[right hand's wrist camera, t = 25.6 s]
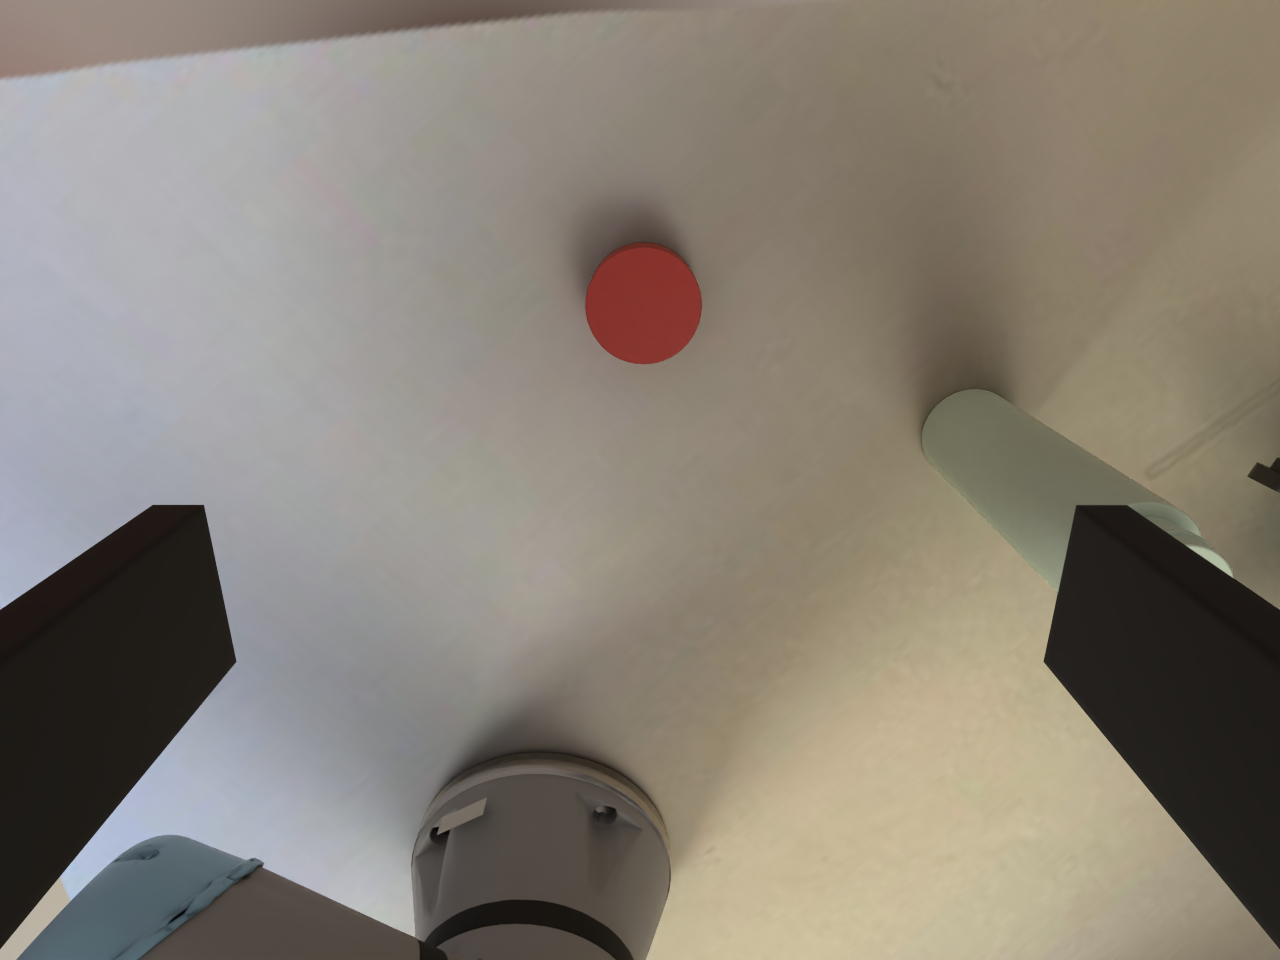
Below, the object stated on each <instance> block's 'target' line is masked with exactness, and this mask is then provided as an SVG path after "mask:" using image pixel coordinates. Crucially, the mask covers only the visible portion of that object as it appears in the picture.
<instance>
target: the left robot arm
mask: <svg viewBox="0 0 1280 960" xmlns="http://www.w3.org/2000/svg"><path fill="white" fill-rule="evenodd" d="M1248 477H1249V478H1251V479H1253V480H1255V481H1257V482H1259V483H1261V484H1263V485H1265V486H1267V487H1269V488H1271V489H1273V490H1275V491H1277V492H1279V493H1280V458H1277V459H1276V460H1275V462H1274V463H1273V465H1272V466H1271V467H1267V466H1265V465H1263V464H1260V463H1256V464H1255V466H1254V467H1253V469H1252V470H1251V472H1250V473H1249V474H1248Z"/></svg>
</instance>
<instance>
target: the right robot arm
mask: <svg viewBox="0 0 1280 960" xmlns="http://www.w3.org/2000/svg"><path fill="white" fill-rule="evenodd" d="M235 663H236V658H235V653H234V648H233V643H232V638H231V634H230V629H229V624H228V619H227V614H226V610H225V605H224V600H223V595H222V590H221V585H220V581H219V576H218V571H217V566H216V561H215V557H214V552H213V547H212V542H211V537H210V532H209V528H208V523H207V518H206V513H205V508H204V505H152V506H151V507H149V508H148V509H146V510H145V511H144V512H142V513H141V514H139V515H138V516H136V517H135V518H133V519H132V520H130V521H129V522H128V523H126V524H125V525H123V526H122V527H120V528H119V529H117V530H116V531H114V532H113V533H112V534H110V535H109V536H107V537H106V538H104V539H103V540H101V541H100V542H98V543H97V544H96V545H94V546H93V547H91V548H90V549H88V550H87V551H85V552H84V553H82V554H81V555H80V556H78V557H77V558H75V559H74V560H72V561H71V562H69V563H68V564H66V565H65V566H64V567H62V568H61V569H59V570H58V571H56V572H55V573H53V574H52V575H50V576H49V577H48V578H46V579H45V580H43V581H42V582H40V583H39V584H37V585H36V586H34V587H33V588H32V589H30V590H29V591H27V592H26V593H24V594H23V595H21V596H20V597H18V598H17V599H16V600H14V601H13V602H11V603H10V604H8V605H7V606H5V607H4V608H2V609H1V610H0V949H1V947H2V946H3V945H4V944H5V943H6V941H7V940H8V939H9V938H10V936H11V935H12V934H13V933H14V932H15V930H16V929H17V928H18V927H19V926H20V924H21V923H22V922H23V921H24V920H25V918H26V917H27V916H28V915H29V913H30V912H31V911H32V910H33V909H34V907H35V906H36V905H37V904H38V902H39V901H40V900H41V899H42V898H43V896H44V895H45V894H46V893H47V891H48V890H49V889H50V888H51V887H52V885H53V884H54V883H55V882H56V881H57V879H58V878H59V877H60V876H61V874H62V873H63V872H64V871H65V870H66V868H67V867H68V866H69V865H70V864H71V862H72V861H73V860H74V859H75V857H76V856H77V855H78V854H79V853H80V851H81V850H82V849H83V848H84V846H85V845H86V844H87V843H88V842H89V840H90V839H91V838H92V837H93V836H94V834H95V833H96V832H97V831H98V829H99V828H100V827H101V826H102V825H103V823H104V822H105V821H106V820H107V818H108V817H109V816H110V815H111V814H112V812H113V811H114V810H115V809H116V808H117V806H118V805H119V804H120V803H121V801H122V800H123V799H124V798H125V797H126V795H127V794H128V793H129V792H130V790H131V789H132V788H133V787H134V786H135V784H136V783H137V782H138V781H139V779H140V778H141V777H142V776H143V775H144V773H145V772H146V771H147V770H148V769H149V767H150V766H151V765H152V764H153V762H154V761H155V760H156V759H157V758H158V756H159V755H160V754H161V753H162V751H163V750H164V749H165V748H166V747H167V745H168V744H169V743H170V742H171V741H172V739H173V738H174V737H175V736H176V734H177V733H178V732H179V731H180V730H181V728H182V727H183V726H184V725H185V723H186V722H187V721H188V720H189V719H190V717H191V716H192V715H193V714H194V713H195V711H196V710H197V709H198V708H199V706H200V705H201V704H202V703H203V702H204V700H205V699H206V698H207V697H208V695H209V694H210V693H211V692H212V691H213V689H214V688H215V687H216V686H217V685H218V683H219V682H220V681H221V680H222V678H223V677H224V676H225V675H226V674H227V672H228V671H229V670H230V669H231V667H232V666H233V665H234V664H235ZM1044 663H1045V664H1046V665H1047V666H1048V667H1049V669H1050V670H1051V671H1052V672H1053V674H1054V675H1055V676H1056V677H1057V678H1058V680H1059V681H1060V682H1061V683H1062V685H1063V686H1064V687H1065V688H1066V689H1067V691H1068V692H1069V693H1070V694H1071V695H1072V697H1073V698H1074V699H1075V700H1076V702H1077V703H1078V704H1079V705H1080V706H1081V708H1082V709H1083V710H1084V711H1085V713H1086V714H1087V715H1088V716H1089V717H1090V719H1091V720H1092V721H1093V722H1094V723H1095V725H1096V726H1097V727H1098V728H1099V730H1100V731H1101V732H1102V733H1103V734H1104V736H1105V737H1106V738H1107V739H1108V741H1109V742H1110V743H1111V744H1112V745H1113V747H1114V748H1115V749H1116V750H1117V751H1118V753H1119V754H1120V755H1121V756H1122V758H1123V759H1124V760H1125V761H1126V762H1127V764H1128V765H1129V766H1130V767H1131V769H1132V770H1133V771H1134V772H1135V773H1136V775H1137V776H1138V777H1139V778H1140V780H1141V781H1142V782H1143V783H1144V784H1145V786H1146V787H1147V788H1148V789H1149V790H1150V792H1151V793H1152V794H1153V795H1154V797H1155V798H1156V799H1157V800H1158V801H1159V803H1160V804H1161V805H1162V806H1163V808H1164V809H1165V810H1166V811H1167V812H1168V814H1169V815H1170V816H1171V817H1172V818H1173V820H1174V821H1175V822H1176V823H1177V825H1178V826H1179V827H1180V828H1181V829H1182V831H1183V832H1184V833H1185V834H1186V836H1187V837H1188V838H1189V839H1190V840H1191V842H1192V843H1193V844H1194V845H1195V846H1196V848H1197V849H1198V850H1199V851H1200V853H1201V854H1202V855H1203V856H1204V857H1205V859H1206V860H1207V861H1208V862H1209V864H1210V865H1211V866H1212V867H1213V868H1214V870H1215V871H1216V872H1217V873H1218V874H1219V876H1220V877H1221V878H1222V879H1223V881H1224V882H1225V883H1226V884H1227V885H1228V887H1229V888H1230V889H1231V890H1232V892H1233V893H1234V894H1235V895H1236V896H1237V898H1238V899H1239V900H1240V901H1241V902H1242V904H1243V905H1244V906H1245V907H1246V909H1247V910H1248V911H1249V912H1250V913H1251V915H1252V916H1253V917H1254V918H1255V920H1256V921H1257V922H1258V923H1259V924H1260V926H1261V927H1262V928H1263V929H1264V930H1265V932H1266V933H1267V934H1268V935H1269V937H1270V938H1271V939H1272V940H1273V941H1274V943H1275V944H1276V945H1277V946H1278V948H1279V949H1280V610H1279V609H1278V608H1276V607H1275V606H1273V605H1272V604H1270V603H1269V602H1267V601H1266V600H1264V599H1263V598H1262V597H1260V596H1259V595H1257V594H1256V593H1254V592H1253V591H1251V590H1250V589H1248V588H1247V587H1246V586H1244V585H1243V584H1241V583H1240V582H1238V581H1237V580H1235V579H1234V578H1232V577H1231V576H1230V575H1228V574H1227V573H1225V572H1224V571H1222V570H1221V569H1219V568H1218V567H1216V566H1215V565H1214V564H1212V563H1211V562H1209V561H1208V560H1206V559H1205V558H1203V557H1202V556H1200V555H1199V554H1198V553H1196V552H1195V551H1193V550H1192V549H1190V548H1189V547H1187V546H1186V545H1184V544H1183V543H1182V542H1180V541H1179V540H1177V539H1176V538H1174V537H1173V536H1171V535H1170V534H1168V533H1167V532H1166V531H1164V530H1163V529H1161V528H1160V527H1158V526H1157V525H1155V524H1154V523H1152V522H1151V521H1150V520H1148V519H1147V518H1145V517H1144V516H1142V515H1141V514H1139V513H1138V512H1136V511H1135V510H1134V509H1132V508H1131V507H1129V506H1128V505H1076V508H1075V513H1074V518H1073V523H1072V528H1071V532H1070V537H1069V542H1068V547H1067V552H1066V557H1065V561H1064V566H1063V571H1062V576H1061V581H1060V585H1059V590H1058V595H1057V600H1056V605H1055V610H1054V614H1053V619H1052V624H1051V629H1050V634H1049V638H1048V643H1047V648H1046V653H1045V658H1044ZM263 865H264V863H263V862H262V861H260V860H259V859H256V858H251V859H249V860H244V859H241V858H239V857H236V856H233V855H231V854H228V853H226V852H223V851H220V850H218V849H215V848H213V847H210V846H208V845H205V844H203V843H200V842H198V841H195V840H192V839H190V838H187V837H183V836H178V835H163V836H157V837H154V838H150V839H148V840H145V841H143V842H141V843H138V844H136V845H135V846H133V847H131V848H130V849H128V850H127V851H125V852H124V853H122V854H121V855H120V856H118V857H117V858H116V859H115V860H114V861H112V862H111V863H110V864H109V865H108V866H107V867H105V868H104V869H103V870H102V871H101V872H100V873H99V874H98V875H97V876H96V877H95V878H94V879H93V880H92V881H91V882H90V883H89V884H88V885H87V886H86V887H85V888H84V889H83V890H82V891H81V892H80V893H78V894H77V895H76V896H75V897H74V898H73V899H72V900H71V901H70V903H69V904H68V905H67V906H66V907H65V908H64V909H63V910H62V911H61V912H60V913H59V914H58V915H57V916H56V917H55V918H54V919H53V921H52V922H51V923H50V924H49V925H48V926H47V927H46V928H45V929H44V930H43V931H42V932H41V933H40V934H39V935H38V937H37V938H36V939H35V940H34V941H33V942H32V943H31V944H30V945H29V946H28V947H27V949H26V950H25V951H24V952H23V953H22V954H21V955H20V956H19V958H18V959H17V960H646V958H647V955H648V952H649V949H650V946H651V943H652V941H653V938H654V935H655V932H656V929H657V926H658V923H659V921H660V918H661V915H662V912H663V909H664V906H665V903H666V900H667V897H668V893H669V888H670V881H671V870H670V848H669V840H668V836H667V832H666V828H665V826H664V823H663V821H662V819H661V817H660V815H659V813H658V811H657V810H656V808H655V807H654V805H653V804H652V802H651V801H650V800H649V799H648V798H647V797H646V795H645V794H644V793H643V792H642V791H641V790H639V789H638V788H637V787H636V786H635V785H634V784H633V783H631V782H630V781H629V780H627V779H626V778H624V777H623V776H621V775H620V774H618V773H617V772H615V771H613V770H611V769H609V768H607V767H605V766H602V765H600V764H598V763H595V762H592V761H589V760H586V759H583V758H579V757H575V756H570V755H564V754H557V753H544V752H543V753H521V754H514V755H508V756H503V757H500V758H496V759H492V760H490V761H487V762H484V763H481V764H479V765H477V766H475V767H473V768H471V769H469V770H467V771H465V772H464V773H462V774H460V775H459V776H458V777H456V778H455V779H454V780H452V781H451V782H450V783H449V784H448V785H447V786H445V787H444V788H443V789H442V790H441V792H440V793H439V794H438V795H437V796H436V797H435V799H434V800H433V802H432V803H431V805H430V806H429V808H428V810H427V812H426V814H425V817H424V819H423V822H422V825H421V828H420V831H419V834H418V837H417V840H416V843H415V846H414V850H413V854H412V863H411V867H412V888H413V903H414V918H415V933H416V938H415V937H413V936H411V935H408V934H406V933H404V932H401V931H399V930H397V929H394V928H392V927H390V926H388V925H386V924H384V923H381V922H379V921H377V920H375V919H373V918H371V917H368V916H366V915H364V914H362V913H360V912H358V911H355V910H353V909H351V908H349V907H347V906H344V905H342V904H340V903H338V902H336V901H334V900H331V899H329V898H327V897H325V896H323V895H321V894H318V893H316V892H314V891H312V890H310V889H308V888H305V887H303V886H301V885H299V884H297V883H295V882H292V881H290V880H288V879H286V878H284V877H282V876H279V875H277V874H275V873H273V872H271V871H269V870H266V869H264V868H262V867H263Z"/></svg>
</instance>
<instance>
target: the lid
mask: <svg viewBox="0 0 1280 960" xmlns="http://www.w3.org/2000/svg"><path fill="white" fill-rule="evenodd" d="M701 309H702V303H701V294H700V290H699V286H698V284H697V281H696V279H695V277H694V275H693V273H692V271H691V270H690V268H689V266H688V265H687V264H686V262H685V261H684V260H683V259H682V258H681V257H680V256H679V255H678V254H676V253H675V252H673V251H672V250H670V249H668V248H666V247H664V246H661V245H659V244H654V243H646V242H641V243H633V244H629V245H626V246H623V247H621V248H619V249H617V250H615V251H614V252H612V253H611V254H609V255H608V256H607V257H606V258H605V259H604V260H603V261H602V262H601V263H600V265H599V266H598V268H597V269H596V271H595V273H594V275H593V277H592V280H591V282H590V284H589V287H588V290H587V296H586V316H587V321H588V324H589V327H590V329H591V331H592V333H593V335H594V337H595V338H596V340H597V341H598V342H599V344H600V345H601V346H602V347H603V348H604V349H605V350H606V351H608V352H609V353H610V354H612V355H613V356H615V357H617V358H619V359H621V360H624V361H627V362H630V363H635V364H652V363H657V362H660V361H663V360H666V359H668V358H670V357H672V356H674V355H675V354H677V353H678V352H679V351H681V350H682V349H683V348H684V347H685V346H686V345H687V344H688V343H689V341H690V340H691V338H692V337H693V335H694V333H695V332H696V329H697V327H698V324H699V321H700V317H701Z"/></svg>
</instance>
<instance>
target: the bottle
mask: <svg viewBox="0 0 1280 960" xmlns="http://www.w3.org/2000/svg"><path fill="white" fill-rule="evenodd" d="M922 448H923V451H924V454H925V456H926V458H927V460H928V461H929V463H930V464H931V465H932V466H933V467H934V468H935V469H936V470H937V471H938V472H939V473H940V474H941V475H942V476H943V477H944V478H945V479H946V480H947V481H948V482H949V483H950V484H951V485H952V486H953V487H954V488H955V489H956V490H957V491H958V492H959V493H960V494H961V495H962V497H963V498H964V499H965V500H966V501H967V502H968V503H969V504H970V505H971V506H972V507H973V508H974V509H975V510H976V511H977V512H978V513H979V514H980V515H981V516H982V517H983V518H984V519H985V520H986V521H987V522H988V523H989V524H990V525H991V526H992V527H993V528H994V529H995V530H996V531H997V532H998V533H999V534H1000V535H1001V536H1002V537H1003V538H1004V539H1005V540H1006V541H1007V542H1008V543H1009V544H1010V545H1011V546H1012V547H1013V548H1014V549H1015V550H1016V551H1017V552H1018V553H1019V554H1020V555H1021V556H1022V557H1023V558H1024V559H1025V560H1026V561H1027V562H1028V563H1029V564H1030V565H1031V566H1032V567H1033V568H1034V569H1035V570H1036V571H1037V572H1038V573H1039V574H1040V575H1041V576H1042V577H1043V578H1044V579H1045V580H1046V582H1047V583H1048V584H1049V585H1050V586H1051V587H1052V588H1053V589H1054V590H1055V591H1056V592H1057V593H1058V590H1059V585H1060V581H1061V576H1062V571H1063V566H1064V561H1065V557H1066V552H1067V547H1068V542H1069V537H1070V532H1071V528H1072V523H1073V518H1074V513H1075V508H1076V505H1128V506H1129V507H1131V508H1132V509H1134V510H1135V511H1136V512H1138V513H1139V514H1141V515H1142V516H1144V517H1145V518H1147V519H1148V520H1150V521H1151V522H1152V523H1154V524H1155V525H1157V526H1158V527H1160V528H1161V529H1163V530H1164V531H1166V532H1167V533H1168V534H1170V535H1171V536H1173V537H1174V538H1176V539H1177V540H1179V541H1180V542H1182V543H1183V544H1184V545H1186V546H1187V547H1189V548H1190V549H1192V550H1193V551H1195V552H1196V553H1198V554H1199V555H1200V556H1202V557H1203V558H1205V559H1206V560H1208V561H1209V562H1211V563H1212V564H1214V565H1215V566H1216V567H1218V568H1219V569H1221V570H1222V571H1224V572H1225V573H1227V574H1228V575H1230V576H1231V577H1232V578H1234V577H1233V573H1232V570H1231V568H1230V566H1229V564H1228V563H1227V561H1226V560H1225V559H1224V558H1223V557H1222V556H1221V555H1220V554H1219V553H1218V552H1216V551H1215V550H1213V547H1212V546H1211V545H1210V544H1209V543H1208V542H1207V541H1206V540H1205V539H1204V538H1202V536H1201V533H1200V531H1199V529H1198V527H1197V525H1196V524H1195V522H1194V521H1193V520H1192V519H1191V518H1190V517H1189V516H1188V515H1187V514H1186V513H1184V512H1183V511H1181V510H1180V509H1178V508H1177V507H1175V506H1173V505H1172V504H1170V503H1169V502H1167V501H1165V500H1164V499H1162V498H1161V497H1159V496H1157V495H1156V494H1154V493H1153V492H1151V491H1150V490H1148V489H1146V488H1145V487H1143V486H1142V485H1140V484H1138V483H1137V482H1135V481H1134V480H1132V479H1130V478H1129V477H1127V476H1126V475H1124V474H1122V473H1121V472H1119V471H1118V470H1116V469H1115V468H1113V467H1111V466H1110V465H1108V464H1107V463H1105V462H1103V461H1102V460H1100V459H1099V458H1097V457H1095V456H1094V455H1092V454H1091V453H1089V452H1087V451H1086V450H1084V449H1083V448H1081V447H1080V446H1078V445H1076V444H1075V443H1073V442H1072V441H1070V440H1068V439H1067V438H1065V437H1064V436H1062V435H1060V434H1059V433H1057V432H1056V431H1054V430H1052V429H1051V428H1049V427H1048V426H1046V425H1045V424H1043V423H1041V422H1040V421H1038V420H1037V419H1035V418H1033V417H1032V416H1030V415H1029V414H1027V413H1025V412H1024V411H1022V410H1021V409H1019V408H1017V407H1016V406H1014V405H1013V404H1011V403H1010V402H1008V401H1006V400H1005V399H1003V398H1002V397H1000V396H998V395H997V394H995V393H993V392H990V391H987V390H982V389H968V390H963V391H959V392H957V393H954V394H952V395H950V396H948V397H946V398H945V399H944V400H942V401H941V402H940V403H939V404H937V405H936V407H935V408H934V409H933V410H932V411H931V413H930V414H929V416H928V418H927V419H926V422H925V424H924V427H923V431H922Z"/></svg>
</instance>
